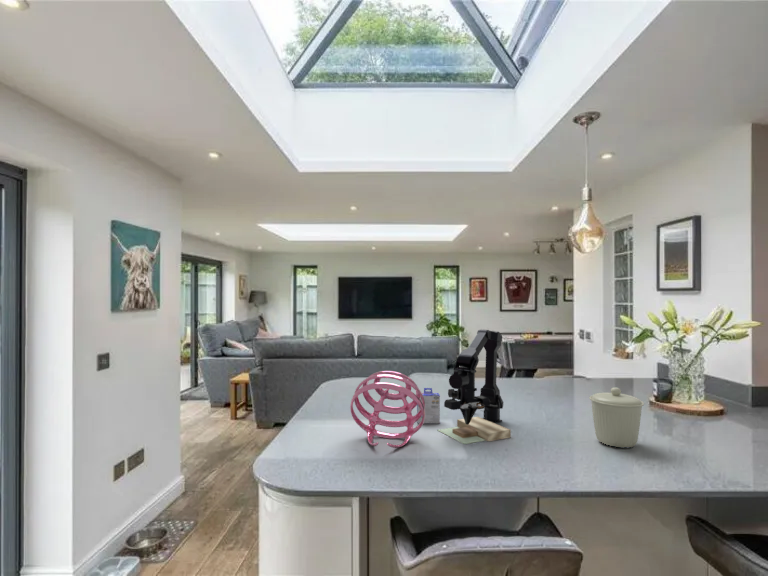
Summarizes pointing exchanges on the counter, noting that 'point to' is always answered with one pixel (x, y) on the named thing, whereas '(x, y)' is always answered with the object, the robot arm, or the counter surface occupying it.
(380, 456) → the counter surface
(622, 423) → the canister
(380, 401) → the spiral basket
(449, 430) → the sage mat
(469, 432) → the walnut coaster
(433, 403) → the ink cartridge box
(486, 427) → the board
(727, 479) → the counter surface
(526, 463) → the counter surface
